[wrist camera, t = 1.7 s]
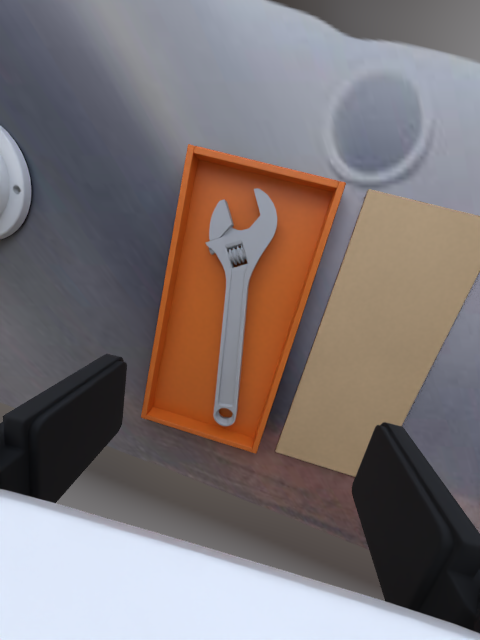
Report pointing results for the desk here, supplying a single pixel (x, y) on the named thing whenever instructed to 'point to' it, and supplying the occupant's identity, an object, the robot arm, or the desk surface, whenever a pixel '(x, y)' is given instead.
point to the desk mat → (381, 327)
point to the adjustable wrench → (236, 291)
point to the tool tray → (210, 287)
